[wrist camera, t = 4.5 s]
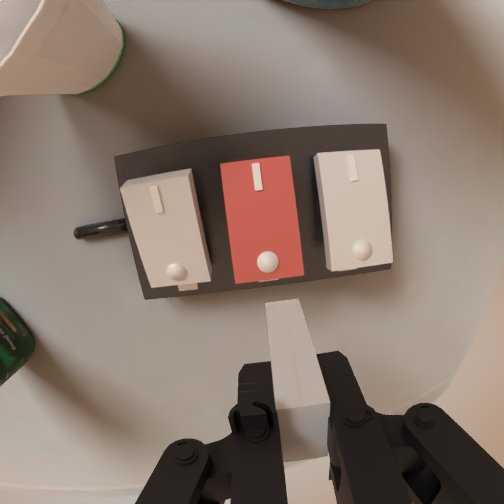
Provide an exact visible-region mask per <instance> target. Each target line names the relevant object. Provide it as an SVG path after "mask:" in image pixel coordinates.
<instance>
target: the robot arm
mask: <svg viewBox="0 0 504 504" xmlns="http://www.w3.org/2000/svg"><path fill="white" fill-rule="evenodd" d="M265 308H266V318H267V328H268V338H269V347H270V357H271V361H269V362H260V363H251V364H244V366H243V367H242V369H241V370H240V372H239V377H238V404H236V405H235V406H234V407H233V408H232V409H231V410H230V413H229V416H228V419H229V422H230V426H231V430H232V433H231V434H230V435H228V436H227V437H225V438H224V439H222V440H219V441H216V442H213V443H209V444H206V445H205V444H203V443H202V442H201V441H199V440H196V439H186V438H185V439H181V440H177V441H175V442H173V443H172V444H170V445H169V446H168V447H167V448H166V450H165V451H164V453H163V455H162V456H161V458H160V460H159V462H158V464H157V465H156V467H155V469H154V471H153V473H152V474H151V476H150V478H149V480H148V481H147V483H146V485H145V487H144V489H143V490H142V492H141V494H140V496H139V497H138V499H137V501H136V503H135V504H224V502H225V500H226V499H230V498H231V504H288V502H287V493H286V483H285V474H284V464H283V462H290V461H297V460H305V459H311V458H318V457H324V456H327V455H328V452H329V456H330V470H329V480H332V481H333V486H334V490H335V496H336V500H337V504H504V469H503V468H502V467H501V466H500V465H499V464H498V463H497V462H496V461H495V460H494V459H493V458H492V457H491V456H490V455H489V454H488V453H487V452H486V451H485V450H484V449H483V448H482V447H481V446H480V445H479V444H478V443H477V442H476V441H475V440H474V439H472V437H470V436H469V435H468V434H467V433H466V432H465V431H464V430H463V429H462V428H461V427H460V426H459V425H458V424H457V423H456V422H455V421H454V420H453V419H452V418H451V417H449V415H447V414H446V413H445V412H444V411H443V410H442V409H441V408H439V407H438V406H436V405H434V404H430V403H420V404H417V405H414V406H412V407H411V408H409V409H408V410H407V412H406V414H405V415H383V414H380V413H377V412H375V410H374V409H373V408H371V407H370V406H368V405H367V404H366V402H365V400H364V397H363V395H362V392H361V390H360V387H359V385H358V383H357V380H356V378H355V376H354V373H353V371H352V369H351V366H350V364H349V362H348V359H347V358H346V357H345V356H344V355H343V354H342V353H340V352H339V351H334V352H328V353H322V354H316V353H315V350H314V346H313V343H312V340H311V337H310V333H309V330H308V327H307V324H306V321H305V317H304V314H303V311H302V308H301V305H300V302H299V298H298V299H291V300H283V301H275V302H267V303H265ZM412 502H413V503H412Z"/></svg>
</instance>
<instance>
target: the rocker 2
mask: <svg viewBox="0 0 504 504" xmlns="http://www.w3.org/2000/svg"><path fill="white" fill-rule="evenodd" d="M220 168H221V176H222V184H223V192H224V200H225V208H226V216H227V224H228V232H229V240H230V247H231V255H232V263H233V270H234V277H235V284H239V283H247V282H255V281H263V280H271V279H279V278H287V277H295V276H302V275H304V269H303V259H302V250H301V241H300V232H299V224H298V216H297V208H296V200H295V192H294V184H293V177H292V170H291V163H290V156H279V157H270V158H261V159H253V160H245V161H237V162H229V163H222V164H220Z"/></svg>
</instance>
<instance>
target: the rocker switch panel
mask: <svg viewBox="0 0 504 504" xmlns="http://www.w3.org/2000/svg"><path fill="white" fill-rule="evenodd" d="M374 149H380V153H381V159H382V165H383V172H384V178H385V186H386V193H387V201H388V210H389V219H390V229H391V241H392V210H391V181H390V163H389V149H388V138H387V127H386V124H350V125H328V126H312V127H299V128H287V129H276V130H266V131H257V132H249V133H241V134H233V135H226V136H219V137H212V138H206V139H200V140H194V141H188V142H182V143H177V144H171V145H166V146H161V147H156V148H151V149H146V150H142V151H137V152H132V153H128V154H124V155H119V156H115V157H114V159H115V165H116V171H117V177H118V183H119V189H120V188H121V186H122V185H123V184H124V183H125V182H126V181H127V180H130V179H135V178H140V177H146V176H151V175H156V174H161V173H167V172H173V171H178V170H184V169H190V168H191V170H192V175H193V180H194V185H195V190H196V195H197V200H198V205H199V210H200V215H201V220H202V225H203V230H204V234H205V239H206V244H207V248H208V253H209V258H210V262H211V267H212V274H211V281H209V282H200V283H192V284H183V285H173V286H164V287H155V288H151V286H150V283H149V280H148V277H147V274H146V271H145V268H144V265H143V262H142V260H141V257H140V253H139V250H138V247H137V244H136V241H135V238H134V235H133V232H132V228H131V225H130V222H129V219H128V215H127V212H126V208H125V205H124V201H123V198H122V194H121V191H120V194H121V199H122V205H123V210H124V215H125V218H123V219H118V220H112V221H107V222H101V223H96V224H91V225H85V226H80V227H77V228H76V229H75V230H74V236H75V238H76V239H86V238H92V237H98V236H103V235H109V234H115V233H122V232H128V234H129V238H130V243H131V247H132V251H133V256H134V260H135V264H136V268H137V272H138V276H139V280H140V284H141V287H142V291H143V295H144V298H145V300H146V299H157V298H167V297H177V296H187V295H196V294H206V293H215V292H224V291H232V290H241V289H249V288H257V287H266V286H274V285H281V284H289V283H297V282H304V281H312V280H319V279H326V278H333V277H340V276H347V275H354V274H360V273H367V272H374V271H380V270H386V269H391V263H387V264H380V265H374V266H367V267H360V268H353V269H346V270H339V271H330V270H329V269H327V267H326V256H325V247H324V237H323V228H322V219H321V211H320V203H319V195H318V188H317V180H316V173H315V166H314V159H313V157H314V156H315V155H316V154H317V153H323V152H337V151H354V150H374ZM279 156H290V163H291V170H292V177H293V184H294V192H295V200H296V208H297V216H298V224H299V232H300V241H301V250H302V259H303V269H304V275H302V276H295V277H287V278H279V279H271V280H263V281H255V282H247V283H239V284H235V277H234V270H233V263H232V255H231V247H230V240H229V232H228V224H227V216H226V208H225V200H224V192H223V184H222V176H221V168H220V164H222V163H229V162H237V161H245V160H253V159H261V158H270V157H279Z"/></svg>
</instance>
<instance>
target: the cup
mask: <svg viewBox="0 0 504 504" xmlns="http://www.w3.org/2000/svg"><path fill="white" fill-rule="evenodd" d="M123 50H124V34H123V30H122V28H121V26H120V25H119V23H118V22H117V20H116V19H115V18H114V17H113V15H112V14H111V12H110V11H109V9H108V8H107V7H106V5H105V4H104V2H103V1H102V0H0V96H12V95H33V94H77V95H79V94H82V93H85V92H88V91H90V90H93V89H95V88H96V87H98V86H99V85H100V84H102V83H103V82H104V81H106V80H107V79H108V78H109V77H110V75H111V74H112V72H113V71H114V70H115V68H116V67H117V65H118V63H119V61H120V59H121V56H122V53H123Z"/></svg>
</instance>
